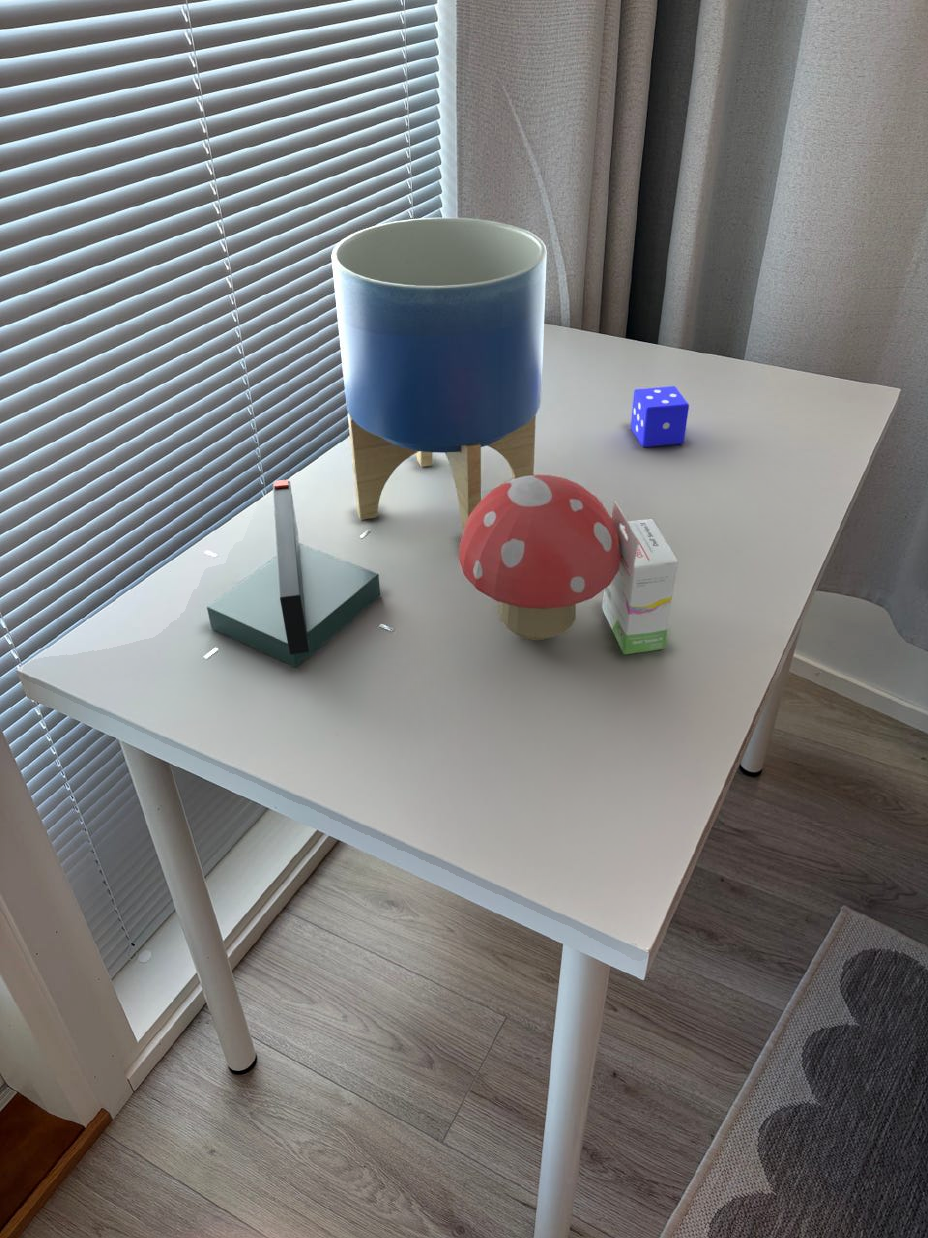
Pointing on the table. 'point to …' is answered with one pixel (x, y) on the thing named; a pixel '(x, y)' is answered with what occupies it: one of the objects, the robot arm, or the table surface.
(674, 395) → the die
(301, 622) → the black slab
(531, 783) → the table surface
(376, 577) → the dark green rectangular piece
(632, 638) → the ink box
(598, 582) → the decorative mushroom
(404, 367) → the planter
